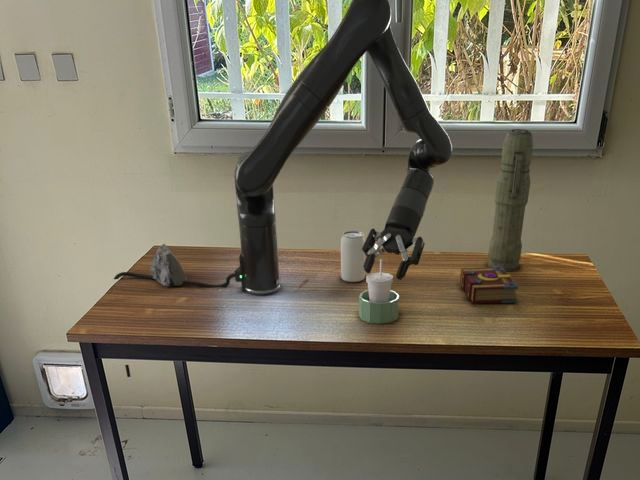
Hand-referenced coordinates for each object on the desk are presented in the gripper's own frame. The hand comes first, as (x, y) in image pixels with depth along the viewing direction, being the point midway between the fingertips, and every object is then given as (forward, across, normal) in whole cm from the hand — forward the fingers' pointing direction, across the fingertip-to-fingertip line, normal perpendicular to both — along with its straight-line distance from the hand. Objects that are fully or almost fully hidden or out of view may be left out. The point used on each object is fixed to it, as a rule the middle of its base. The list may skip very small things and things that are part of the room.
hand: (382, 274), depth 164 cm
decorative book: (-11, +17, +25) cm, 32 cm away
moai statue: (-27, +13, +41) cm, 51 cm away
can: (-5, -18, +19) cm, 27 cm away
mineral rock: (+13, -61, +1) cm, 63 cm away
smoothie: (+8, 0, +6) cm, 10 cm away
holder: (+8, 0, +6) cm, 10 cm away
